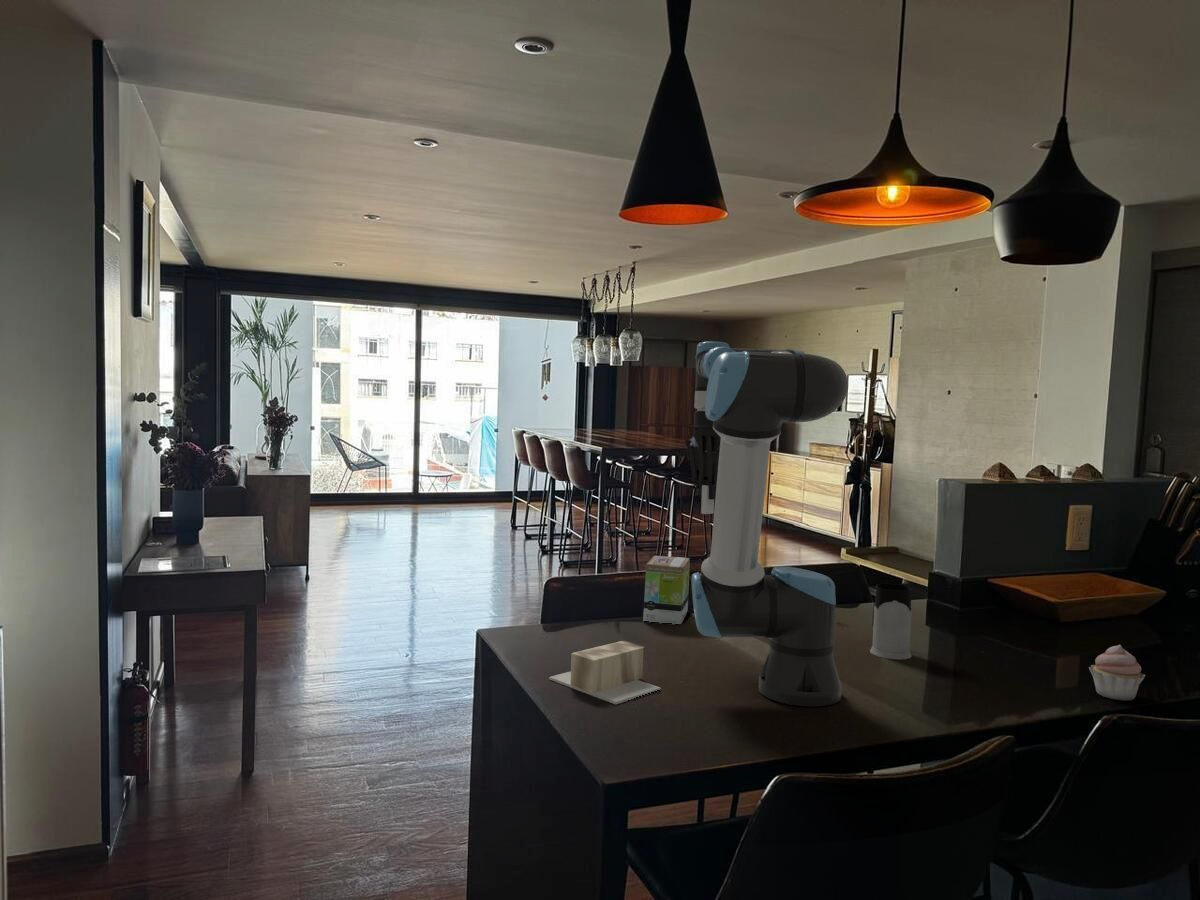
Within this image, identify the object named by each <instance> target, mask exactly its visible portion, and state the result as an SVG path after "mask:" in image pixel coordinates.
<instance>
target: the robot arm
mask: <svg viewBox="0 0 1200 900" xmlns="http://www.w3.org/2000/svg"><path fill="white" fill-rule="evenodd" d="M694 388H695V389H694V406H693V407H694V409H696V410H695V412H694V413H693V426H694V427H695V430H694V433H693V436H692V437H691V438H690V439H685V441H684V443H685V444H684V445H685V446H686V448H687V451H688V457H689V458H688V459H689V462H690V463H689V464H690V471H691V478H692V481H694V482H697V483H698V484H699V499H701V508H700V514H701V515H702V514H703V515H710V514H711V515H712V514H713V521H712V522H713V523H712V535H711V546H710V555H709V556H708V557H707V558H706V559H704V560H703V561H702V562H701V568H700V572H699V571H697V572H694V573H693V574H691V594H692V604H693V613H694V619H695V625H696V630H697V631H698V632H699V633H700V634H701V635H702V636H706V637H717V638H719V639H723V638H753V639H754V638H755V639H756V638H758V639H769V647H768V649H769V650H768V653H767V655H766V659H765V660H764V663H763V666H762V669H761V671H760V674H759V676H758V677H759V678H758V691H759V693H760V694H761V695H762V696H763V697H766V698H767V699H769V700H772V701H775V702H778V703H781V704H786V705H790V706H798V707H810V708H811V707H813V708H815V707H825V706H826V707H827V706H831V705H834V704H836V703H838V702H840V700H841V699H842V684H841V681H840V677H839V673H838V670H837V667H836V663H835V659H834V641H835V639H834V638H835V636H834V634H835V617H836V616H835V615H836V613H835V611H836V610H835V609H836V606H837V601H836V585H835V582H834V581H833V580H832V579H831V578H830V577H829V576H827V575H824V574H822V573H818V572H815V571H813V570H808V569H803V568H798V567H793V566H777V565H776V566H773V568H772V570H771V572H770V573H771V574H766V573H765V568H764V567H763V565H761V563H759V553H760V542H761V535H762V534H761V533H762V523H763V514H764V505H765V495H766V489H767V488H766V487H767V476H768V467H769V457H770V449H771V443H772V441H774V440H775V439H776V438H778V437H780V435H781V434H782V433H781V432H782V424H783V423H806V422H812V421H817V420H820V419H822V418H825V417H826V416H829V415H831V414H832V413H834V412H835V411H836V410H837V409H839V408H840V407H841V406H842V404H843V403H844V400H845V399H846V398H847V394H848V390H849V379H848V377H847V374H846V371H845V370H844V368H843V367H842V366H841V365H840V364H839V363H837V361H835V360H833V359H830V358H828V357H825V356H821V355H817V354H810V353H805V352H804V351H803V350H795V349H790V348H789V349H773V348H772V349H771V348H770V349H768V348H767V349H764V348H763V349H762V348H761V349H760V348H759V349H758V348H743V347H742V348H739V347H738V348H737V347H736V348H734V347H733V348H732V347H730V344H728V343H727V342H723V341H701V342H699V343H698V344H697V345H696V355H695V387H694Z"/></svg>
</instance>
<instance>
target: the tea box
mask: <svg viewBox="0 0 1200 900" xmlns="http://www.w3.org/2000/svg"><path fill="white" fill-rule="evenodd" d="M690 562H691V560H690V557H681V556H680V557H679V556H677V557H676V556H664V555H653V556H652V558H651V559H650V560H648V562H647V563H646V564H645V581H644V596H643V597H644V598H643V599H644V600H643V612H642V613H643V614H642V615H643V617H642V618H643V619H642V621H643V622H644V621H649V622H648V623H651V622H659V623H658V624H662V623H672V624H671V625H675V624H681V625H682V623H683V621H684V619H685V617H686V615H687V612H688V606H689V591H690V589H689V587H690V586H689V585H690V567H691V563H690Z"/></svg>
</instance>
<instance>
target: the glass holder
mask: <svg viewBox="0 0 1200 900" xmlns="http://www.w3.org/2000/svg"><path fill="white" fill-rule="evenodd" d="M874 601H875V602H874V607H873V626H872V627H873V630H872V645H871V648H870V650H869V652H870V653H871V654H872V655H874V656H876V657H879V658H883V659H889V660H908V659H911V658H912V653H911V632H912V630H911V627H912V611H913V610H912V587H911V586H908V585H904V584H899V583H878V584H876V585H875V599H874Z"/></svg>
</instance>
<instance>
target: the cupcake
mask: <svg viewBox="0 0 1200 900" xmlns="http://www.w3.org/2000/svg"><path fill="white" fill-rule="evenodd" d="M1094 662H1095V664H1091V665H1090V666H1089V667H1088V669H1089V672H1090V673H1091V675H1092V678H1093V682H1094V686H1095V691H1096V694H1098V695H1100V696H1102V697H1104V698H1108V699H1110V700H1117V701H1133V700H1135V698H1136V696H1137V693H1138V691H1139V686H1140V684H1141V683H1142V681H1144V679H1145V677H1146V674H1145V673H1141V671H1142V667H1141V664H1139V662H1137V659H1136V657H1135V656H1133V655H1132V654H1131V653H1129V651H1127V650H1125V648H1123V647H1122V645H1121V644H1118V645H1114V646H1111V647H1108V648H1107V649H1106V650H1105V652H1104V653H1101V654H1099V655H1097V657H1096V658H1095V659H1094Z"/></svg>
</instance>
